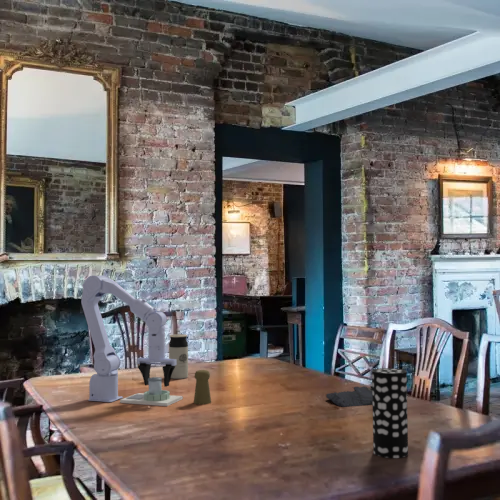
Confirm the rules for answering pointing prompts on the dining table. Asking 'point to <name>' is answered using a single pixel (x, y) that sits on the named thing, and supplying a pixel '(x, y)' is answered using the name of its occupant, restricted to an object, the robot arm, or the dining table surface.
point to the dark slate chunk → (352, 397)
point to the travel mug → (179, 355)
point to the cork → (202, 387)
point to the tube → (155, 385)
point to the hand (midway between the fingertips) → (156, 385)
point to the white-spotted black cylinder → (390, 412)
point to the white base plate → (152, 399)
